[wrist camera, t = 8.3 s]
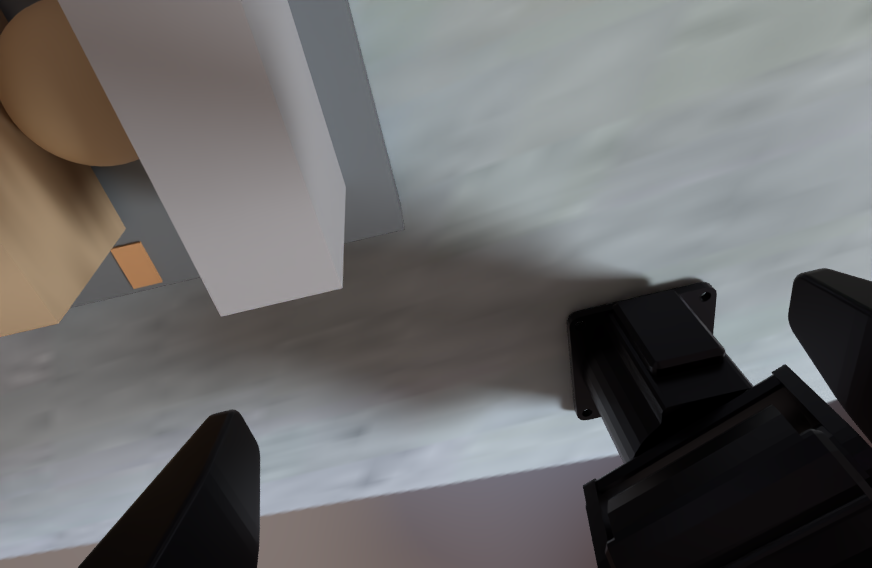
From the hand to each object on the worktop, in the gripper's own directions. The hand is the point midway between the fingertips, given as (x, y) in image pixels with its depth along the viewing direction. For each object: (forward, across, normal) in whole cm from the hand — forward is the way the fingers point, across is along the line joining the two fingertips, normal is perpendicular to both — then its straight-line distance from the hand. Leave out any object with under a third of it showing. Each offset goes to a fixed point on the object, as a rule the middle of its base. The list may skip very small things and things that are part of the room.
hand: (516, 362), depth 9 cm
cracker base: (+13, +14, -4) cm, 19 cm away
